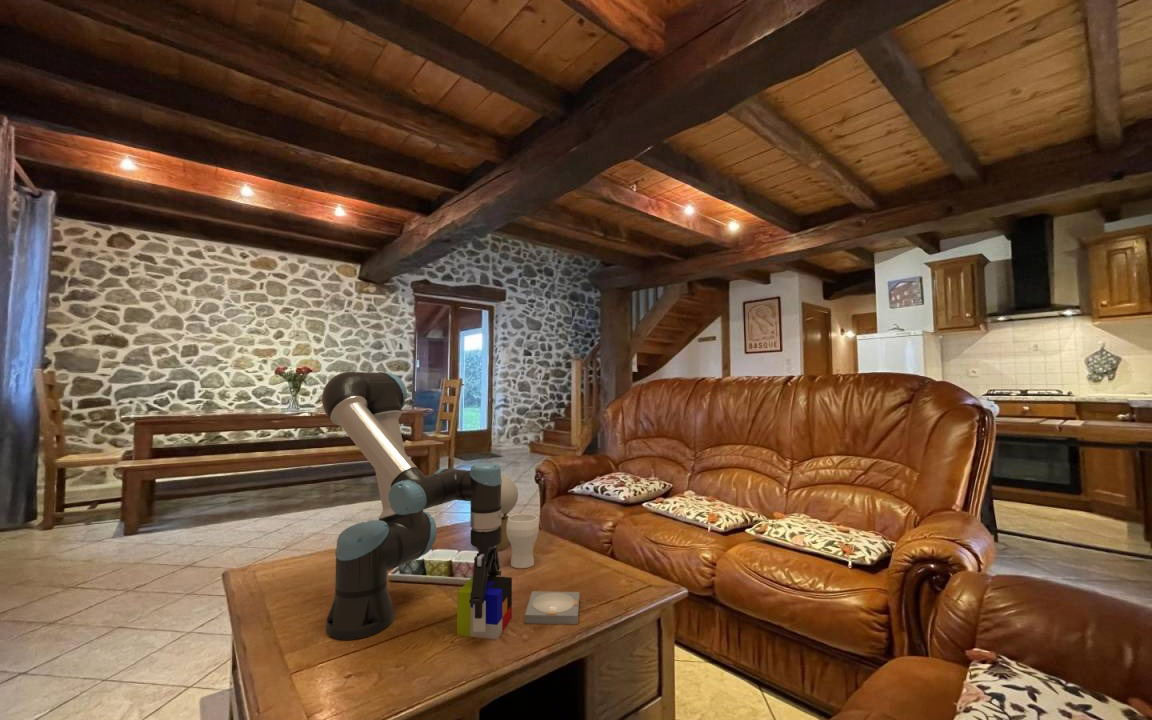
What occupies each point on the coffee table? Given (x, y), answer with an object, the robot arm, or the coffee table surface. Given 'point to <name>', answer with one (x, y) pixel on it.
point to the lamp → (506, 507)
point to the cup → (522, 538)
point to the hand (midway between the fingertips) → (486, 616)
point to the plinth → (553, 608)
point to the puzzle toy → (496, 607)
